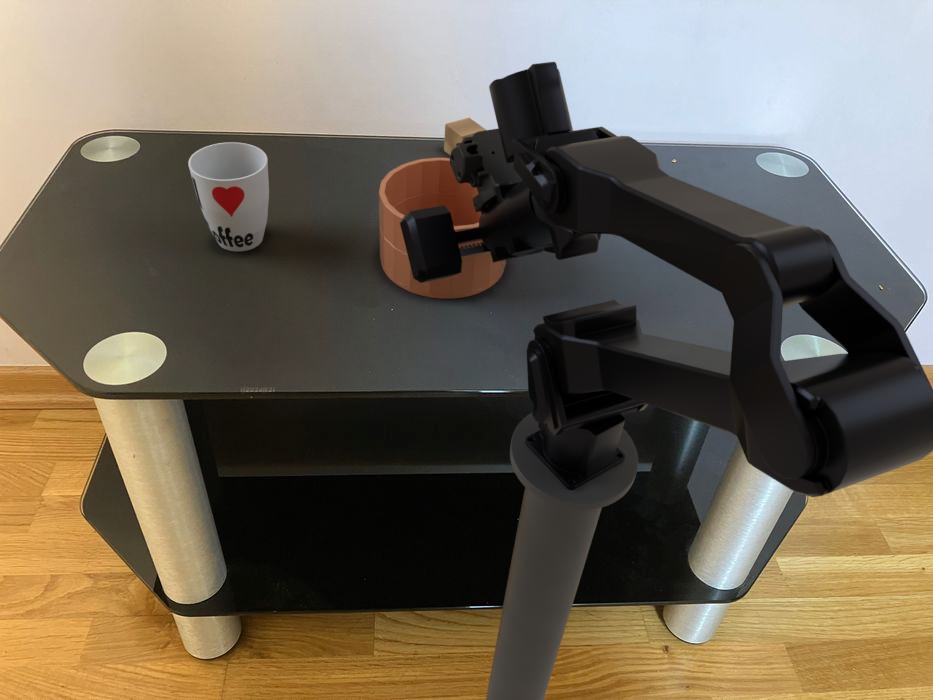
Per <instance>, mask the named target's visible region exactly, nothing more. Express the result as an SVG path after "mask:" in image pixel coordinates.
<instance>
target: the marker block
mask: <svg viewBox="0 0 933 700" xmlns="http://www.w3.org/2000/svg"><path fill="white" fill-rule="evenodd" d="M444 124H445V125H444V143H443V151H444V152H445V153H446V154H448V155H449V156H450V155H451V152H452V149H453V148H454V147H456V144H457V143H459V142H462V141H463V139H464V138H465V137H472V136H473V135H474V134H475V133H476V132H479V131H485V130H487V128H485V127H483V126H482V125H480V123H477V122H476V121H475V120H473V119H472V118H471V117H467V118H463V119H462V118H461V119H458V120H454V121H450V122H447V123H444Z"/></svg>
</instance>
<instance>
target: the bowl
mask: <svg viewBox="0 0 933 700" xmlns="http://www.w3.org/2000/svg"><path fill="white" fill-rule="evenodd" d="M476 195H478V190H477V188H476V187H474V188H473V187H471V185H470V184H469V183H462V184H460V183H458V182H457V180H456V177H455V175H454V172H453V170H452V167H451V165H450V157H431V158H419V159H416V160H412V161H409V162H406V163H403V164H401V165H399V166H397V167H395V168H393V169H392V170H390V171H389V172H388V173H387V174H386V175H385V176H384V178H383V179H382V180H381V181H380V185H379V191H378V212H379V213H378V218H379V220H378V221H379V223H378V224H379V258H380V265H381V267H382V270H383V272H384V273H385V275H386V276H387V277H388V279H389V280H390V281H391V282H393V283H394V284H395V285H396V286H398V287H400V288H401V289H403V290H405V291H407V292H410V293H412V294H416V295H419V296H421V297H426V298H433V299H441V300H442V299H444V300H448V299H450V300H452V299H461V298H467V297H470V296H472V297H473V296H474V295H478V294H481V293H482V292H485V291H486V290H488V289H490V288H492V287H493V286H494V285H495V284H496V283H497V282H498V281H499V280H500V279H501V277H502V276H503V274H504V272H505V269H506V268H505V267H506V265H507V260H504V261H499V262H494V263H493V261H492V257H491V252H488V253H483V254H478V255H473V256H469V257H464V258H462V270H461V273H459V274H457V275H454V276H450V277H446V278H442V279H437V280H433V281H428V282H423V283H420V282H418V281H417V280H415V279H414V278H413V274H412V270H411V266H410V262H409V258H408V254H407V250H406V246H405V242H404V238H403V234H402V230H401V226H400V222H401V220H402V219H403V217H404V216H405V215H406V214H407V213H408V212H409V211H414V210H420V209H425V208H431V207H436V206H442V205H445V206H446V207H447V209H448V210H449V211H450V213H451V217H452V221H453V225H454V229H455V232H458V231H463V230H468V229H473V228H478V227H479V219H480V216H481V211H479V212H476V211H475V208H474V204H473V200H472V198H473V197H475V196H476ZM481 242H483V241H482V240H479V241H474V242H469V243H464V244H460V245H458V246H459V248H460V247H461V246H463V247H464V246H465V245H467V246H468V245H470V244H471V246H472V244H475V245H476V243H479V244H480V243H481Z"/></svg>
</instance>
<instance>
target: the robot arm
mask: <svg viewBox="0 0 933 700" xmlns="http://www.w3.org/2000/svg"><path fill="white" fill-rule="evenodd" d="M488 89H489V90H488V91H489V94H490V99H491V102H492V107H493V110H494V115H495V119H496V125H497V128H493V129H492V128H491V129H486V130H485V131H479V132H476V133H475V134H474V135H473V136H472V137H465V138H464V139H463V141H462V142H459V143H457V144H456V147H454V148H453V149H452V152H451V155H449V158H450V165H451V167H452V170H453V172H454V175H455V177H456V180H457V182H458V183H460V184H462V183H469V184H470V185H471V187H473V188H474V187H476V188H477V190H478V195H476V196H475V197H473V198H472V200H473V204H474V208H475V211H476V212H479V211H481V216H480V219H479V227H478V228H473V229H468V230H463V231H458V232H455V229H454V225H453V221H452V217H451V213H450V211H449V210H448V209H447V207H446V206H445V205H442V206H436V207H431V208H425V209H420V210H414V211H409V212H408V213H407V214H406V215H405V216H404V217H403V219H402V220H401V222H400V226H401V230H402V234H403V238H404V242H405V246H406V250H407V254H408V258H409V262H410V266H411V270H412V274H413V278H414V279H415V280H417V281H418V282H420V283H423V282H428V281H433V280H437V279H442V278H446V277H450V276H454V275H457V274H459V273H461V270H462V258H464V257H469V256H473V255H478V254H483V253H488V252H491V257H492V261H493V263H494V262H499V261H504V260H506V261H508V260H513V259H517V258H522V257H526V256H530V255H535V254H539V253H542V252H545V253H546V252H547V253H551V254H554V255H555V258H556V259H557V260H558V261H562V260H567V259H572V258H576V257H582V256H585V255H586V256H587V255H590V254H595V253H597V252H598V251H599V243H600V240H601V238H602V235H612V236H615V237H620V238H622V239H624V240H625V241H627V242H629V243H631V244H632V245H635V246H637V247H638V248H640V249H642V250H644V251H645V252H647V253H649V254H650V255H652V256H655V257H656V258H658V259H659V260H661V261H663V262H666V263H667V264H668V265H671V266H673V267H674V268H677V269H678V270H680V271H682V272H684V273H685V274H686V275H689V276H690V277H693V278H694V279H696V280H698V281H699V282H701V283H703V284H705V285H707V286H708V287H710V288H712V289H714V290H716V291H718V292H720V293H721V295H722V297H723V299H724V302H725V304H726V306H727V308H728V311H729V313H730V316H731V318H732V319H733V320H732V321H733V326H732V327H733V328H732V341H731V351H729V350H724V349H719V348H714V347H710V346H704V345H700V344H696V343H695V344H694V343H689V342H685V341H681V340H675V339H671V338H665V337H662V336H661V337H660V336H657V335H652V334H646V333H643V332H642V328H641V324H640V323H641V322H640V320H639V319H638V318H637V305H636V304H633V305H632V304H631V305H624V304H620V303H619V302H618V301H617V300H615V299H611V300H608V301H607V300H606V301H603V302H598V303H594V304H591V305H586V306H582V307H577V308H573V309H569V310H568V309H567V310H564V311H560V312H556V313H551V314H548V315H547V314H546V315H543V316H542V320H543V323H539V324H538V323H537V325H536V326H534V328H533V331H532V332H533V334H534V339H532V340H529V342H528V344H527V348H526V367H527V369H526V370H527V391H528V395H529V396H528V397H529V399H530V401H531V403H532V404H533V409H532V412H533V414H532V416H533V418H534V419H535V421H537V422H539V424H538V427H539V428H540V430H539V431H537V432H535V433H533V434H531V435H530V436H528V437H526V440H525V444H526V445H527V446H528V448H529V449H530V450H531V451H532V452H533V453H534V454H535V455H536V456H537V457H538V458H539V459H540V460H541V461H542V462H543V464H544V465H545V466H546V467H547V468H548V469H549V470H550V471H551V472H552V473H553V474H554V475H555V476H556V477H557V479H558V480H559V481H560V482H561V483H562V484H563V485H564V486H565V487H566V488H567V489H568V490H575V489H577V488H578V487H580V486H582V485H584V484H586V483H587V482H589V481H591V480H593V479H594V478H596V477H598V476H600V475H601V474H603V473H605V472H607V471H608V470H610V469H612V468H614V467H615V466H617V465H619V464H621V463H622V462H624V459H625V455H624V453H623V452H622V451H621V450H620V449H619V448H618V447H617V445H618V442H619V439H620V435H621V432H622V429H624V425H625V422H626V418H625V417H624V416H623V415H627V414H630V413H634V412H642V411H644V410H645V409H646V408H647V407H648V406H652V407H655V408H656V409H657V408H658V409H660V410H663V411H666V412H669V413H672V414H674V415H677V416H680V417H683V418H685V419H689V420H691V421H695V422H698V423H699V424H704V425H706V426H709V427H711V428H715V429H718V430H720V431H723V432H726V433H728V434H732V435H734V436H736V437H737V439H738V442H739V444H740V447H741V449H742V451H743V454H744V456H745V459H746V461H747V463H748V464H749V465H751V466H752V467H753V468H755V469H756V470H758V471H759V472H761V473H762V474H765V475H766V476H767V477H769V478H770V479H772V480H774V481H776V482H777V483H779V484H781V485H783V486H784V487H786V488H787V489H789V490H791V491H792V492H794V493H796V494H798V495H800V496H801V495H802V496H806V497H811V498H818V497H823V496H825V495H828V494H831V493H834V492H836V491H839V490H841V489H844V488H847V487H850V486H854V485H856V484H858V483H861V482H864V481H867V480H869V479H873V478H874V477H877V476H881V475H883V474H887V473H889V472H891V471H894V470H897V469H900V468H903V467H905V466H908V465H911V464H913V463H916V462H919V461H921V460H923V459H924V458H926V457H927V456H928V455H929V454H931V453H932V452H933V386H932V384H931V381H930V380H929V378H928V376H927V374H926V372H925V370H924V368H923V366H922V363H921V361H920V359H919V357H918V355H917V353H916V351H915V349H914V348H913V345H912V343H911V341H910V339H909V337H908V334H907V333H906V330H905V328H904V326H903V325H902V324H901V322H900V321H899V320H898V319H897V317H895V316H894V314H892V313H891V312H890V311H889V310H888V309H886V308H885V307H884V305H882V304H881V302H879V301H878V300H877V299H875V298H874V297H873V296H872V295H871V294H870V293H869V292H868V291H867V290H865V289H864V288H863V286H861V285H860V284H859V283H858V282H857V281H856V280H855V279H854V278H853V277H852V276H851V275H850V273H849V271H848V268H847V266H846V265H845V263H844V261H843V259H842V256H841V254H840V252H839V249H838V248H837V246H836V244H835V243H834V241H833V240H832V238H831V237H830V235H828V234H827V233H825V232H824V231H823V230H821V229H819V228H812V227H810V226H807V225H796V224H790V223H788V222H786V221H784V220H781V219H779V218H775V217H773V216H771V215H768V214H765V213H763V212H760V211H758V210H756V209H753V208H750V207H748V206H745V205H743V204H741V203H738V202H736V201H733V200H730V199H729V198H725V197H723V196H721V195H718V194H716V193H713V192H710V191H709V190H706V189H703V188H701V187H698V186H697V185H694V184H691V183H688V182H686V181H683V180H681V179H678V178H676V177H673V176H671V175H669V174H667V173H666V172H665V171H663V170H662V168H661V166H660V165H661V164H660V159H659V156H658V155H657V154H656V152H654V151H652V150H651V149H649V148H648V147H646V146H645V145H644V144H642V143H640V142H639V141H638V140H636V139H635V138H633V137H632V136H629V135H617V134H615V133H613V132H612V131H610V130H609V129H607V128H605V127H603V126H595V127H589V128H582V129H576V130H574V128H573V123H572V119H571V115H570V111H569V106H568V103H567V98H566V94H565V89H564V85H563V81H562V76H561V72H560V69H559V68H558V65H557V62H556V61H547V62H540V63H539V62H538V63H532V64H531V65H530V66H529V67H528V68H527V69H523V70H520V71H516V72H514V73H511V74H508V75H506V76H503V77H501V78H497V79H493V81H491V83H490V84H489V85H488ZM479 240H482V241H483V242H481V243H480V244H479V243H476V245H475V244H472V246H471V244H470V245H468V246H467V245H465V246H464V247H463V246H461V247H460V248H459V246H458V245H460V244H464V243H469V242H474V241H479ZM796 304H798V305H799V307H800V308H801V309H802V310H803V311H804V312H805V313H806V315H808V316H809V317H810V318H811V319H812V320H813V321H815V322H816V324H818V325H819V326H820V327H821V328H822V329H823V330H824V331H825V332H827V334H829V335H830V336H831V337H832V338H833V339H834V340H835V341H837V343H838V344H840V345H841V346H842V347H843V348H844V350H846V352H845V353H836V354H835V353H834V354H828V355H827V354H826V355H820V356H813V357H812V356H811V357H804V358H796V359H795V358H794V359H789V360H781V351H782V350H781V348H782V330H783V329H782V328H783V309H784V308H785V307H788V306H789V307H790V306H792V305H796ZM529 441H533V442H529ZM617 456H619V457H621V458H618V457H617ZM569 483H572V484H573V485H570V484H569Z"/></svg>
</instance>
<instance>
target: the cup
mask: <svg viewBox="0 0 933 700" xmlns="http://www.w3.org/2000/svg"><path fill="white" fill-rule="evenodd" d="M268 161H269V160H268V155H267V154H266V152H265V151H264V150H262V148H260V147H258V146H255V145H252V144H249V143H244V142H235V141H230V142H227V141H226V142H219V143H213V144H210V145H207V146H204V147H201V148H200V149H198V150H196V151H195V152H193V153H192V154H191V156H190V157H189V159H188V163H187V165H188V168H189V171H190V176H191V180H192V184H193V187H194V191H195V195H196V199H197V202H198V204H199V207H200V210H201V212H202V214H203V217H204V219H205V221H206V224H207V226H208V229H209V230H210V232H211V234H212V235H213V237H214V238H215V240H216V242H217V243H218V245H219V247H221V248H222V249H224V250H227V251H230V252H246V251H250V250H253V249H255V248H256V247H258V246H260V244H261V243H262V242H263V240H264V235H265V231H266V227H267V223H268V216H269V203H270V202H269V201H270V199H269V198H270V184H269V183H270V182H269V164H268V163H269V162H268Z"/></svg>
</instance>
